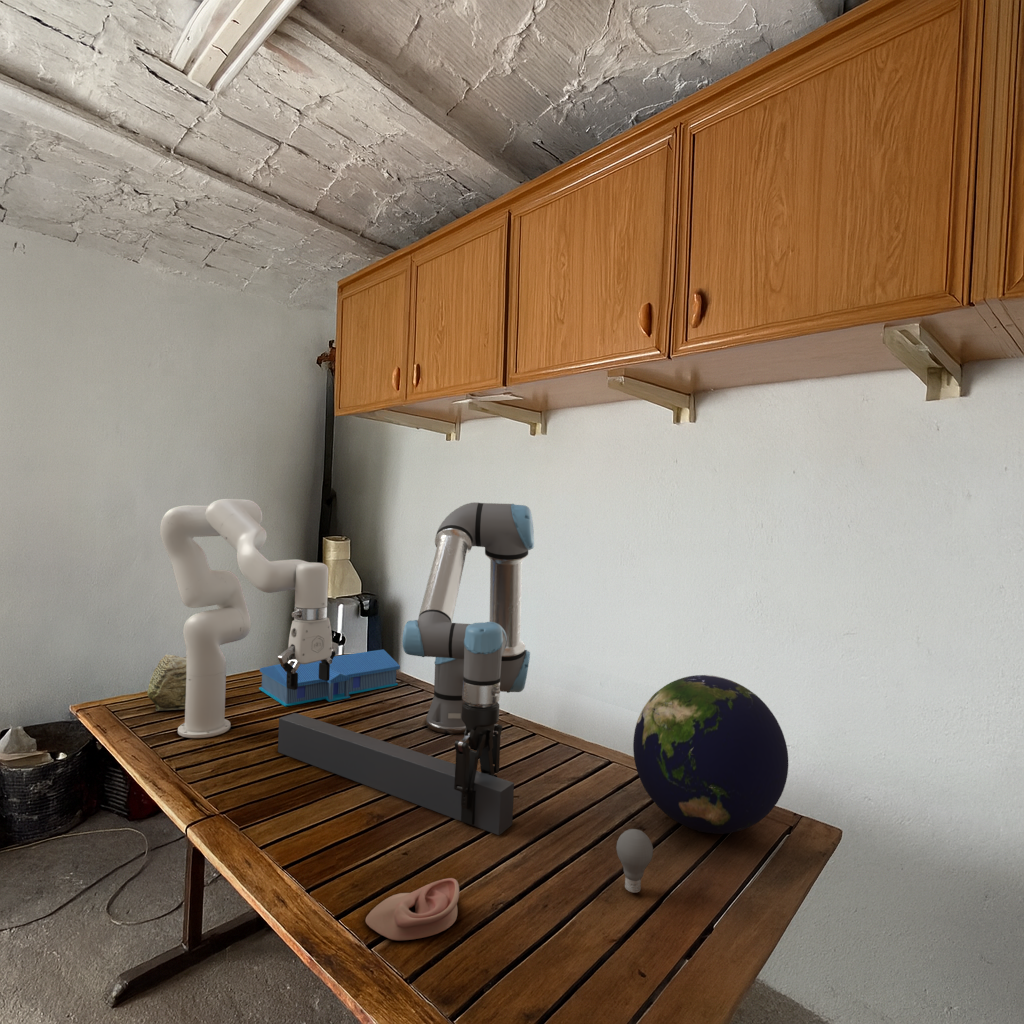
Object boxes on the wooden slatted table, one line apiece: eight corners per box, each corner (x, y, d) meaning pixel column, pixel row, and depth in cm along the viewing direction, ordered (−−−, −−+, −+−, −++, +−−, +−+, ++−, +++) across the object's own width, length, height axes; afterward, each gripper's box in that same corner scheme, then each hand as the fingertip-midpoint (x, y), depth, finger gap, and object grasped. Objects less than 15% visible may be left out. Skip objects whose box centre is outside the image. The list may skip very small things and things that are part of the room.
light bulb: (610, 879, 108) (613, 822, 108) (644, 879, 109) (647, 822, 109) (619, 902, 102) (622, 840, 102) (655, 901, 103) (658, 840, 103)
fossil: (144, 707, 182) (145, 655, 182) (212, 696, 194) (213, 647, 194) (151, 716, 175) (153, 662, 175) (221, 703, 188) (223, 653, 188)
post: (277, 752, 156) (278, 718, 155) (294, 746, 160) (295, 712, 160) (498, 835, 121) (500, 791, 121) (512, 824, 126) (514, 782, 125)
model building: (289, 709, 186) (291, 675, 185) (258, 688, 204) (259, 657, 204) (403, 687, 212) (405, 657, 212) (366, 670, 230) (368, 643, 230)
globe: (615, 841, 121) (622, 685, 120) (644, 780, 148) (650, 652, 148) (786, 884, 109) (795, 711, 109) (782, 808, 137) (789, 671, 136)
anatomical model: (357, 906, 92) (388, 863, 104) (356, 933, 92) (387, 887, 104) (444, 922, 90) (466, 876, 101) (443, 950, 90) (465, 901, 101)
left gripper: (291, 620, 144) (289, 695, 144) (348, 611, 159) (346, 679, 159) (270, 616, 148) (267, 689, 148) (327, 607, 163) (325, 673, 163)
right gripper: (469, 717, 117) (464, 842, 118) (520, 694, 133) (515, 804, 133) (437, 709, 121) (432, 829, 122) (490, 687, 136) (485, 794, 137)
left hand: (308, 684), depth 154 cm, fingers open, 9 cm apart
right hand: (475, 816), depth 127 cm, fingers closed on post, 5 cm apart
